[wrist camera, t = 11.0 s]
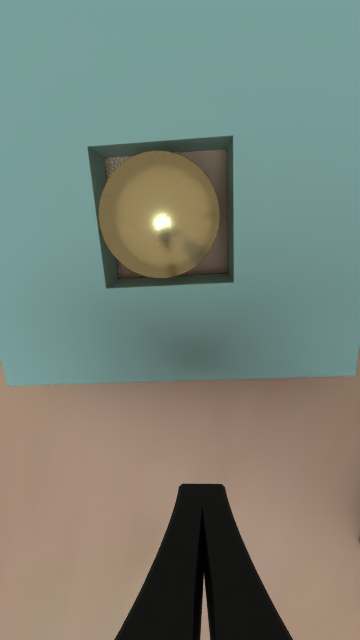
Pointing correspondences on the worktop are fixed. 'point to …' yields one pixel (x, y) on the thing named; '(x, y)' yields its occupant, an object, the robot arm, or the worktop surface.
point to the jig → (172, 136)
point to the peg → (159, 214)
